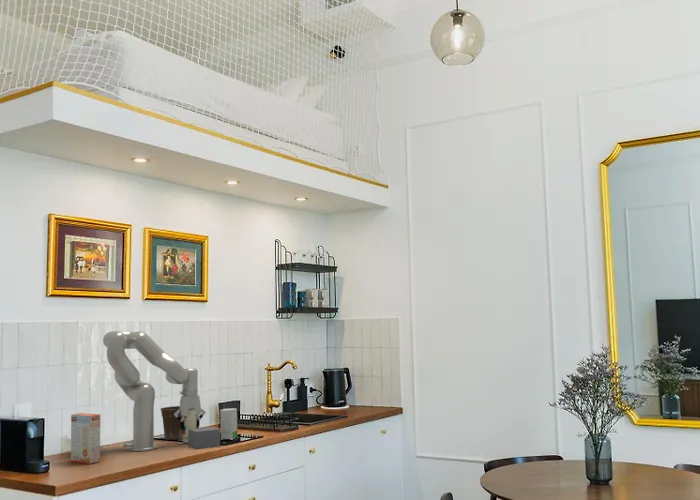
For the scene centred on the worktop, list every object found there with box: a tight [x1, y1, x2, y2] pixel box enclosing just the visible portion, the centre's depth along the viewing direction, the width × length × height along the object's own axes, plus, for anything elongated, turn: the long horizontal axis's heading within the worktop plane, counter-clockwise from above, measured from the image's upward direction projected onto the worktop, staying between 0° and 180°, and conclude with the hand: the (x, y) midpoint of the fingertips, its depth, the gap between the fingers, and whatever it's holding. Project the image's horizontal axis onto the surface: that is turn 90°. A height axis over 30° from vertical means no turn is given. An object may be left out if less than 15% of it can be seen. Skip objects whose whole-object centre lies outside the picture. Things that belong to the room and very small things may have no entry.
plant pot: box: [159, 405, 183, 441], centre depth 374 cm, size 16×16×16 cm
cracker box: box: [70, 412, 101, 465], centre depth 315 cm, size 14×6×21 cm, turn 54°
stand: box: [188, 426, 221, 450], centre depth 347 cm, size 12×12×8 cm
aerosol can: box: [182, 408, 197, 445], centre depth 357 cm, size 7×7×20 cm
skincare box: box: [219, 407, 238, 441], centre depth 364 cm, size 8×7×16 cm
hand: (189, 428), depth 357 cm, fingers closed on aerosol can, 6 cm apart
